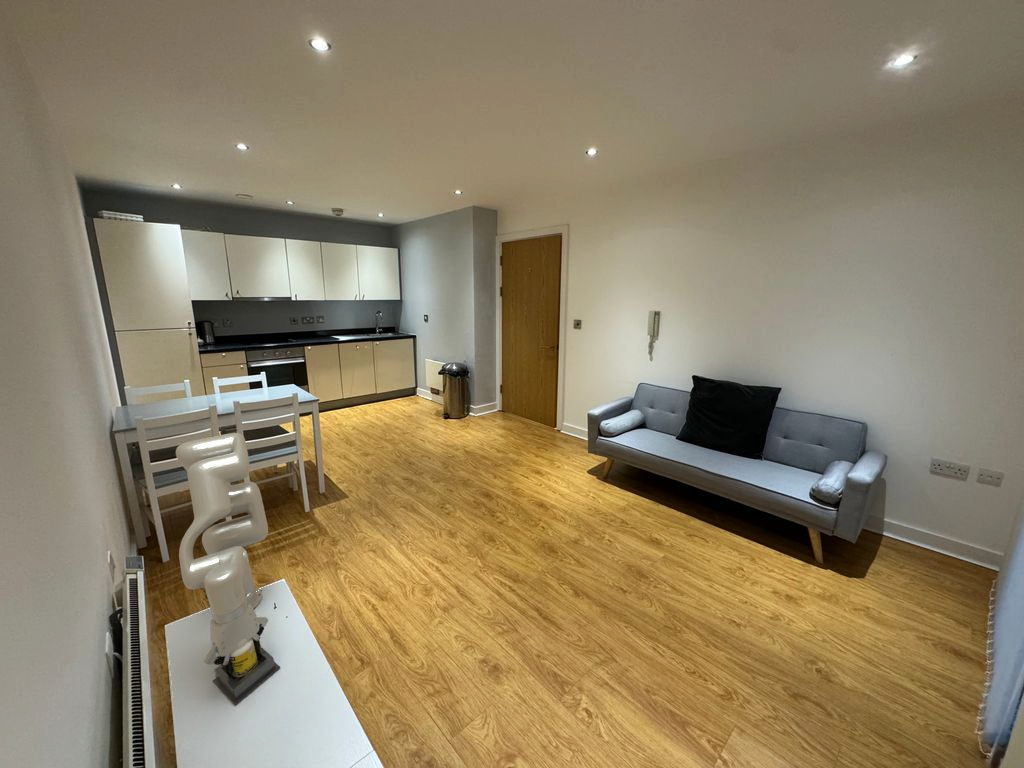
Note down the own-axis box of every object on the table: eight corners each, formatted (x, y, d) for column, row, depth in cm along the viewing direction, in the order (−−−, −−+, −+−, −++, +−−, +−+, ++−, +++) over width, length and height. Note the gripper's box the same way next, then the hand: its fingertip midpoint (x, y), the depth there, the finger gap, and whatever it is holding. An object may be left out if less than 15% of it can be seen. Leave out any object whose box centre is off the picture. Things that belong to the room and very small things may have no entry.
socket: (212, 682, 112) (209, 670, 110) (257, 648, 121) (255, 637, 120) (235, 706, 106) (231, 693, 104) (280, 668, 116) (277, 656, 114)
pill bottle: (227, 680, 109) (219, 649, 106) (237, 659, 115) (229, 629, 112) (252, 676, 110) (245, 644, 107) (261, 655, 116) (254, 625, 113)
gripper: (256, 582, 116) (267, 631, 121) (185, 627, 101) (201, 680, 107) (271, 593, 112) (281, 643, 117) (199, 640, 98) (215, 695, 103)
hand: (243, 660), depth 112 cm, fingers closed on pill bottle, 6 cm apart
